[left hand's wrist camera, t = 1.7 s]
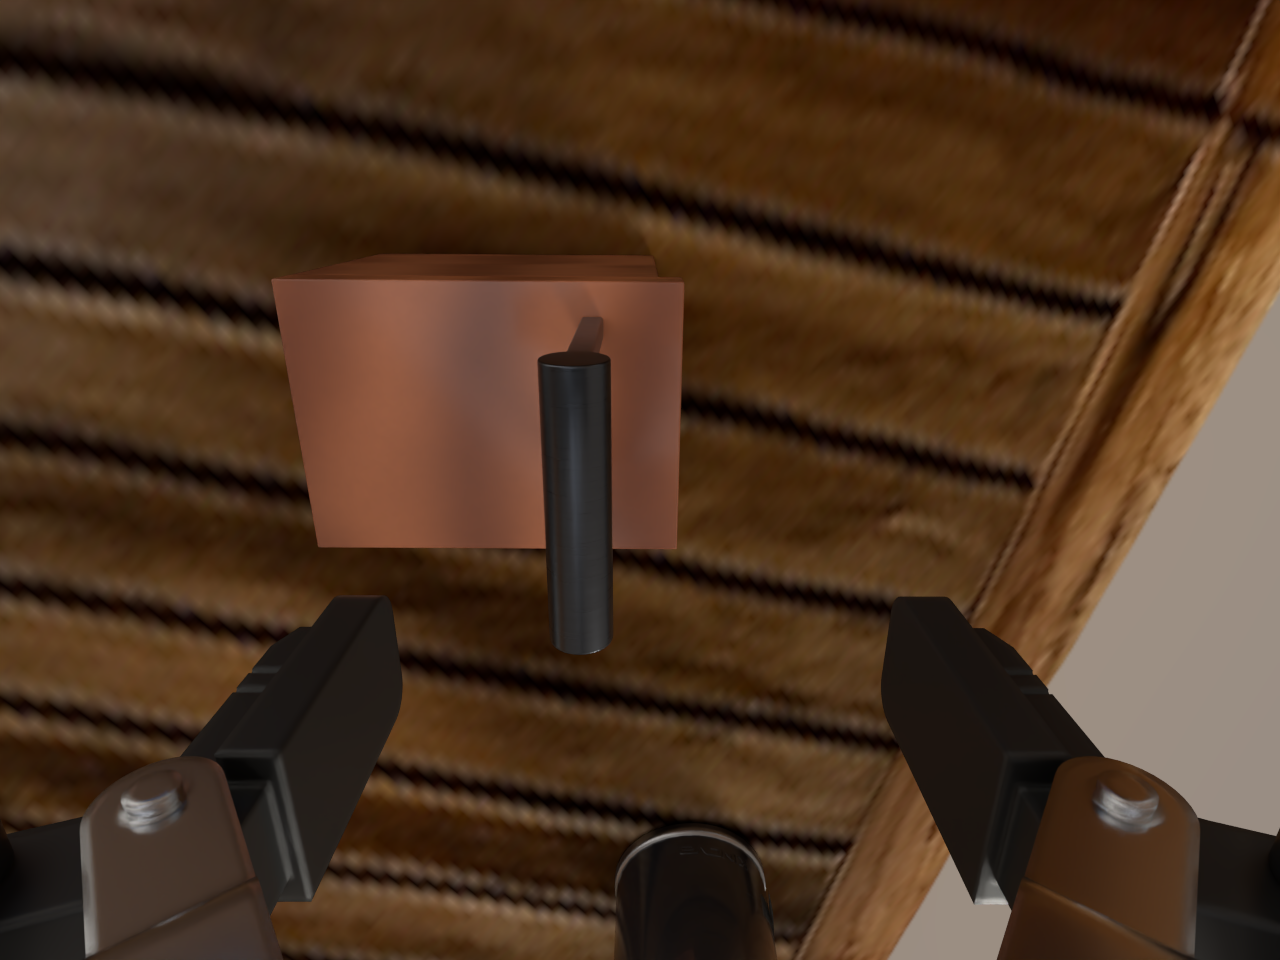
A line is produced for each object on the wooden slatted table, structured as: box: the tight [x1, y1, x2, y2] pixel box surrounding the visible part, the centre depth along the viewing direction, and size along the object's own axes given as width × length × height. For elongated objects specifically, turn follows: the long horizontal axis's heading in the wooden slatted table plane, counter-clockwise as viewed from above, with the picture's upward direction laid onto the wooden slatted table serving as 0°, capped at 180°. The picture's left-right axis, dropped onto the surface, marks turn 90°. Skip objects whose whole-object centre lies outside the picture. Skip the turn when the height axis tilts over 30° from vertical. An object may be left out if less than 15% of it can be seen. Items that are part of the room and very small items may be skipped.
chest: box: [293, 254, 658, 277], centre depth 30 cm, size 12×9×9 cm
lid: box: [272, 275, 684, 655], centre depth 21 cm, size 13×9×9 cm
